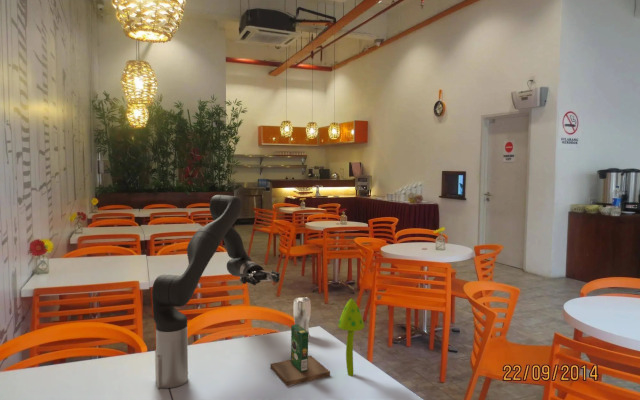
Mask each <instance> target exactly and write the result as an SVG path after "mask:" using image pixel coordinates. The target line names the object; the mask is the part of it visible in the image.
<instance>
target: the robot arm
mask: <svg viewBox="0 0 640 400" xmlns="http://www.w3.org/2000/svg"><path fill="white" fill-rule="evenodd" d="M242 210H243V202H242V200H241V198H240V197H238V196H235V195H225V194H216V195H213V196H212V197H211V199H210V201H209V212H210V215H211V217H212V221H211V222H209V223H207V224H205V225H202V227H200V228H199V229H198V230H196V232H195V233H194V234H193V236H192V237H191V239H190V240H189V242H188V244H187V247H186V252H187V253H186V255H187V260H188V265H187V268H186V269H185V271H184V272H183V274H180V275H173V274H161V275H159V276H157V277H156V279H155V280H154V282H153V285H152V288H151V299H152V300H151V301H152V304H151V305H152V313H153V314H152V316H153V322H154V323H155V347H156V348H155V352H154V356H155V357H154V362H155V366H154V367H155V382H156V383H155V384H156V386H157V389H161V388H162V389H163V388H164V389H165V388H167V389H169V388H171V389H172V388H177V387H181V386H182V385H184V384H186V383H187V382H188V380H189V368H188V367H189V366H188V365H189V362H188V361H189V355H188V354H189V353H188V351H189V349H188V347H189V345H188V342H189V341H188V339H189V338H188V317H187V316H186V315H185V314H184V313H182V312H181V311H179V310H178V309H177V308H176V307H184V306H186V305H187V304H188V303H189V302H190V300H192V297H193V295H194V294H195V291H196V288H197V286H198V284H199V282H200V280H201V278H202V275H203V274H204V271H205V269H206V268H207V266H208V264H209V263H210V261H211V260H212V259H213V256H214V255H215V253H216V252H217V250H218V248H219V246H220V245H221V244H222V240H223V242H224V245H225V249H226V254H227V256H228V257H229V258H231V259H229V260H228V261H227V262H226V269H227V272H228V273H229V274H230V275H232V276H233V277H239V282H240V283H242V284H244V285H246V284H249V285H252V286H256V285H257V284H259V283H261V282H271V281H272V282H274V283H276V284H278V283H279V282H280V272H278V271H276V270H271V271H265V269H264V268H263V266H262V265H260V264H258V263H256V262H254V261H252V259H251V258H250V256H249V255H248V253H247V252H246V249H245V247H244V244H243V239H242V237H241V235H240V233H239V232H238V231H237V229H236V228H234V226H233V225H234V224H235V222H236V221H237V220H238V218H239V216H240V215H241V212H242Z"/></svg>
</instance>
